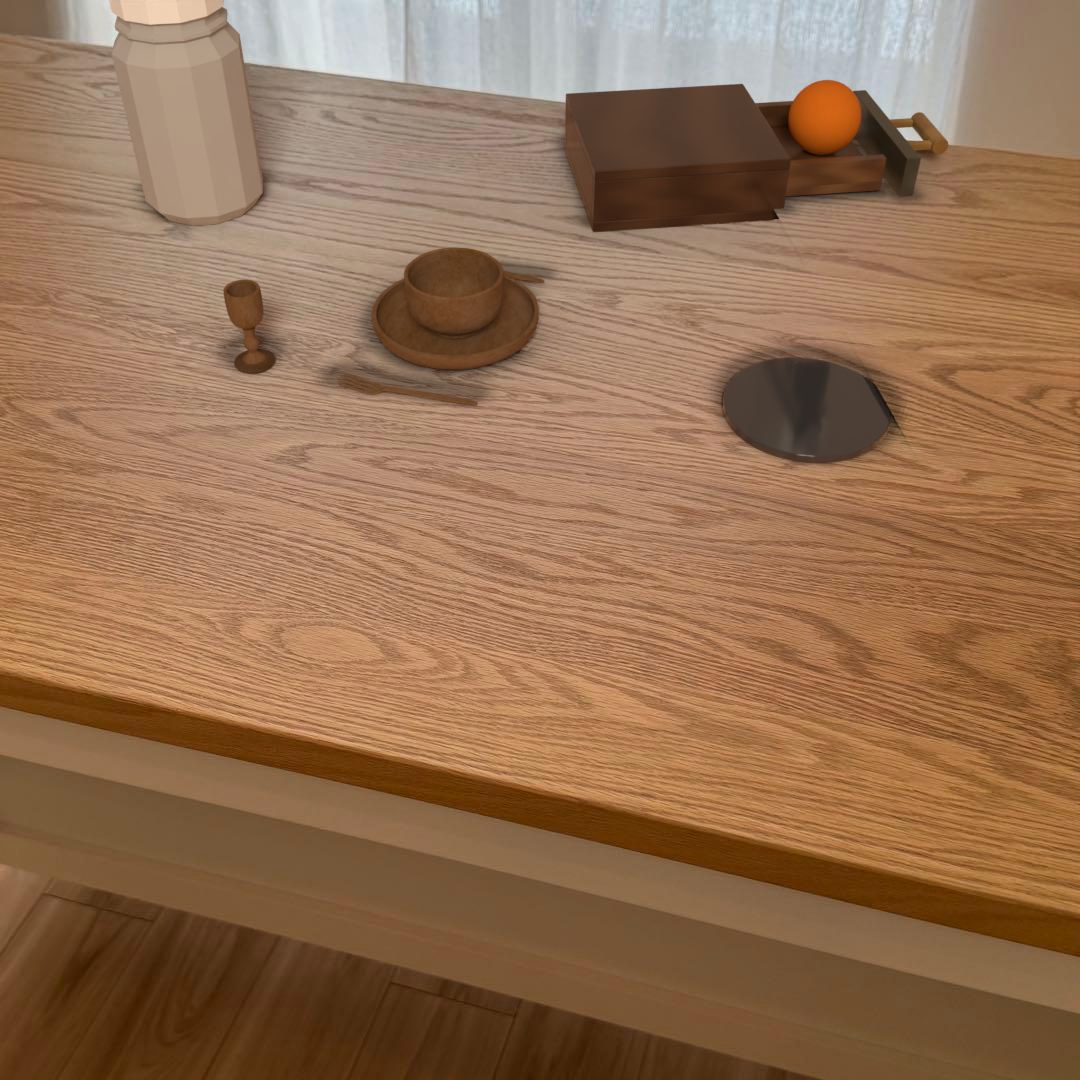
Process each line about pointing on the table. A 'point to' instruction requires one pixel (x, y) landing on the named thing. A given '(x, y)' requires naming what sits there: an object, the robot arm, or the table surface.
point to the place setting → (424, 316)
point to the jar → (187, 108)
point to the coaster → (806, 410)
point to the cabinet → (674, 157)
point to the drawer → (857, 152)
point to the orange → (824, 117)
